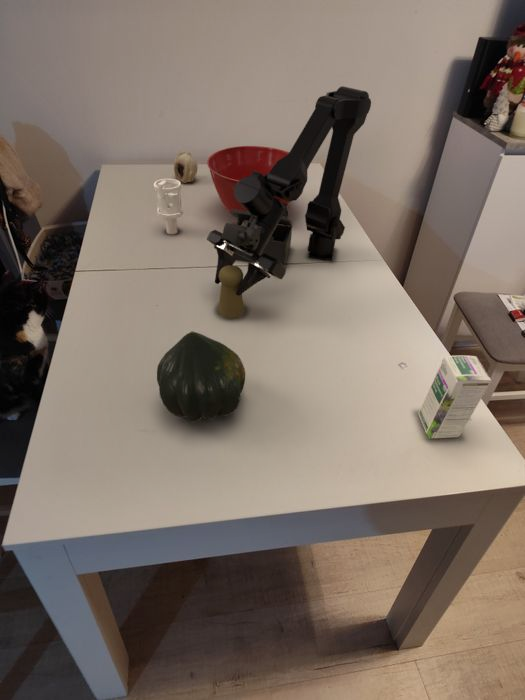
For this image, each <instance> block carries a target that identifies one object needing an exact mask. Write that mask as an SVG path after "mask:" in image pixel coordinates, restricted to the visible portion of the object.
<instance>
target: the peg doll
mask: <svg viewBox="0 0 525 700" xmlns="http://www.w3.org/2000/svg"><path fill="white" fill-rule="evenodd" d="M243 278H244V273H243V270H242V268H241V267H239V266H237V265H234V264H233V265H229V266H225V267H223V268H222V269H221V270H220V272H219V280H220V283H221V284H220V290H219V291H220V292H219V299H218V307H217V314H218V315H219V316H220V317H222V318H223V319H227V320H235V319H239V318H241V317H242V316H243V315H245V303H244V297H243V293H242V294H241V295H240V296H238V295H236V292H237V289H238V287H239V285H240V284H241V282H242V280H243Z"/></svg>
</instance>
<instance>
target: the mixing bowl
mask: <svg viewBox="0 0 525 700" xmlns="http://www.w3.org/2000/svg"><path fill="white" fill-rule="evenodd" d="M289 152H290V151H286V150H283V149H281V148H275V147H271V146H262V145H261V146H259V145H241V146H240V145H239V146H238V145H237V146H232V147H226V148H224V149H220V150H218V151H216V152H215V151H214V152H213V153H212V154H211V155H209V157H208V158H207V161H206V165H207V168H208V169H209V173H210V176H211V180H212V183H213V185H214V188H215V191H216V192H217V195H218V196H219V199H220V201H221V203H222V204H223V206H224V208H225V210H227V212H229V213H230V214H231V215H233V214H232V213H231V212H230V210H231V209H234V210H241V211H247V210H246V209H245V208H244V207H243V206H242V205H241V204H240V203H239V202H238V201H237V200H236V198H235V196H234V188H235V186H236V184H237V182H239V181H240V180H241V179H243V178H244V177H246V176H251V174H252V172H253V171H256V172H259V173H261V174H262V175H263V176H264V175H265V174H267V173H269V172H270V170H271V169H272V168H273V166H274V165H275V164H276V162H277V161H278V160H280V159H281V158H283V157H285V156H286V155H288V153H289ZM275 198H277V199H278V200H279V201H281V202H284V203H286V204H287V207H289V205H290V203H291V202H292V201H287V200H284V199H282V198H279V197H276V196H275ZM241 220H243V219H241ZM248 221H249V220H248Z"/></svg>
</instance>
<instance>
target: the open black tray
mask: <svg viewBox="0 0 525 700" xmlns="http://www.w3.org/2000/svg"><path fill="white" fill-rule="evenodd" d="M243 221H245V220H241V219H238V220H237V221H236V224H237V225H242V223H243ZM292 232H293V226H285V225H277V227H276V229H275V230H274V232H273V234H272V237H273V238H274V239H273V241H272V242H270V241H268V243H267V245H266V247H265V248H264V250H263V252H262V253H263V254H264V253H265V254H267V255H269V256H271V257H273V258H276V259H277V260H279V261H280V262H281V263H282V264H283V265H284V266H286V263H287V259H288V257H289V253H290V251H291V245H292V244H291V243H292ZM244 251H245V250H244ZM250 254H251V253H250ZM252 255H253V254H252ZM232 256H233V257H234V258H235V259H236V261H242V262H247V263H253V262H252V261H250V260H248V259H246V258H244V257H242V256H240V255H238V254H236V253H233V255H232Z"/></svg>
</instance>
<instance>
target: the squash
mask: <svg viewBox="0 0 525 700" xmlns="http://www.w3.org/2000/svg"><path fill="white" fill-rule="evenodd" d="M156 381H157V385H158V391H159V392H158V393H159V396H160V399H161V402H162V405H163V406H164V407H165V408H166V410H167V411H168V412H169V413H170V414H172V415H174V416H176V417H181V418H183V417H184V418H186V419H187V420H188V421H190V422H193V423H195V422H199V421H200V420H201V418H202V417H203V418H204V419H206V420H213V419H215V418H216V417H217V415H219V416H230V415H231V414H234V412H235V411H236V410H237V409H238V407H239V404H240V400H241V394H242V392H243V390H244V387H245V383H246V369H245V367H244V364H243V361H242V360H241V358H240V356H239V355H238V354H237V353H236V352H235V351H233V350H232V349H231V348H230V347H228V346H227V345H225V344H224V343H222V342H220V341H218V340H215V339H212V338H210V337H208V336H207V335H204V334H202V333H199V332H195V331H194V330H193V331H189V332H188V333H186V334H185V335H184V336H183V337H182V338H181V339H179V340H178V341H177V343H175V344H174V345H173V346H172V347H170V348H169V350H167V352H166V353H165V354H164V355H163V356H162V358H161V359H160V360H159V363H158V365H157V368H156Z"/></svg>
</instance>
